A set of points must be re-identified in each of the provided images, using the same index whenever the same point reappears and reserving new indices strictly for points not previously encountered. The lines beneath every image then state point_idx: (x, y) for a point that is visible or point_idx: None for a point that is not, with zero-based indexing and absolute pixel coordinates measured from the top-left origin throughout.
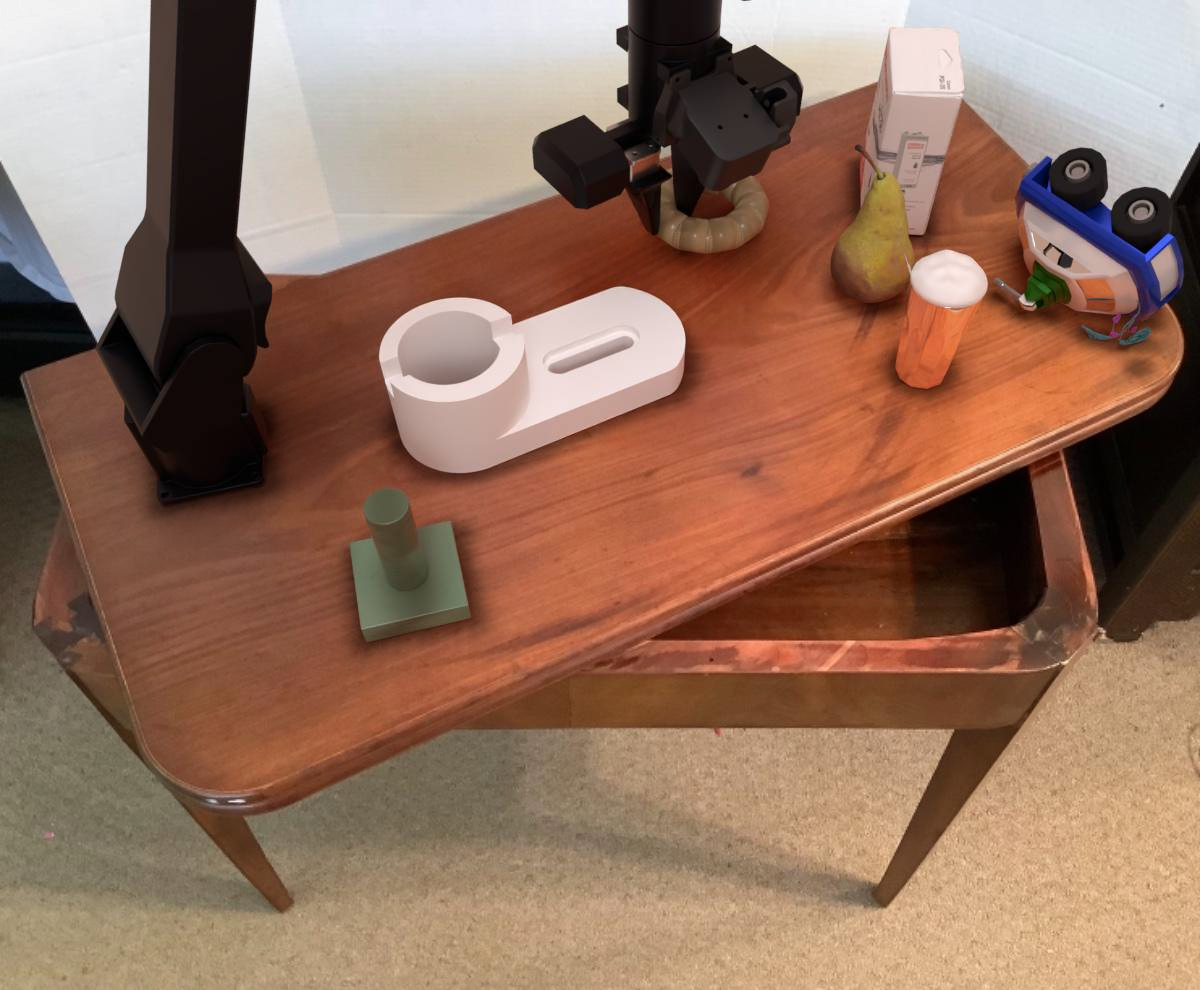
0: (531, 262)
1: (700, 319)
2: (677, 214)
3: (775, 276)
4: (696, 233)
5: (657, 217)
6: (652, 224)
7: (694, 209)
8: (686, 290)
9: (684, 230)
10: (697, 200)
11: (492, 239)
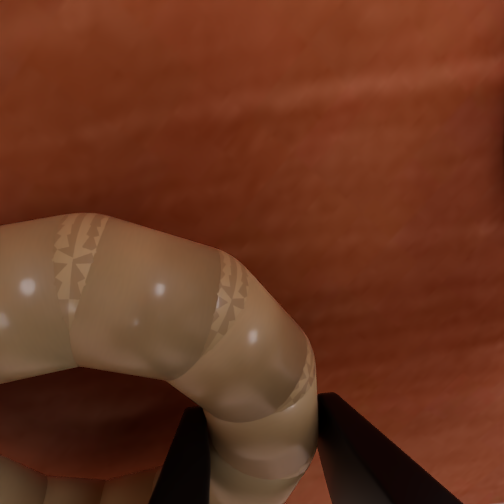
0: (488, 425)
1: (412, 28)
2: (265, 444)
3: (4, 13)
4: (265, 336)
5: (379, 460)
6: (379, 435)
7: (174, 441)
8: (339, 179)
9: (294, 369)
10: (167, 483)
11: (477, 488)
